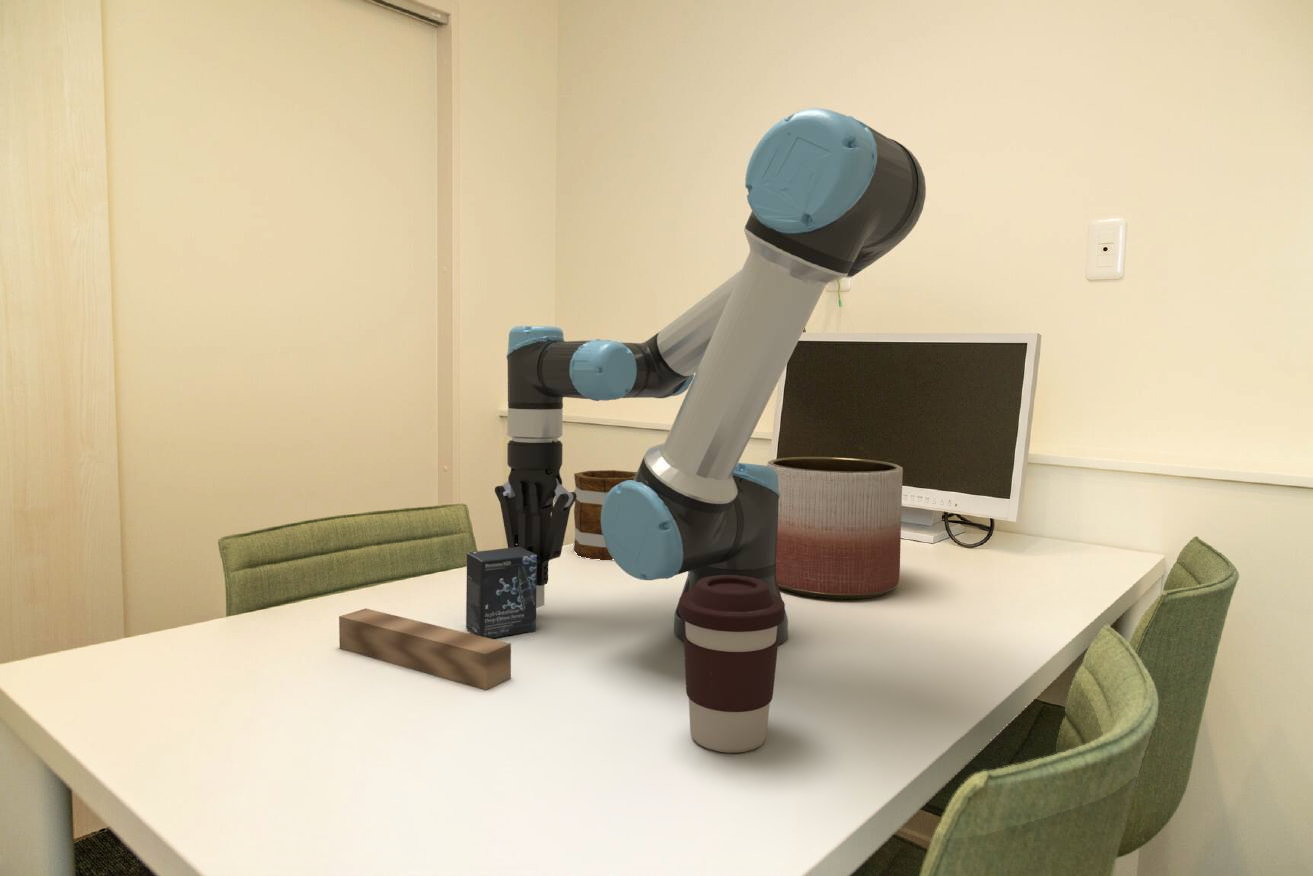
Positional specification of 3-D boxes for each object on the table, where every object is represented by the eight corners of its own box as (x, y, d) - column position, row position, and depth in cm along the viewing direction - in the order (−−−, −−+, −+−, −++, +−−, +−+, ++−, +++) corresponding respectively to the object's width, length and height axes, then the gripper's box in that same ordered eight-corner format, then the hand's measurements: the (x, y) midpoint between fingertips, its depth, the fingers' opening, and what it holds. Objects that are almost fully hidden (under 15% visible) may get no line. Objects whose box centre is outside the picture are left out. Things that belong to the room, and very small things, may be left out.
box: (481, 642, 102) (481, 560, 102) (465, 629, 107) (465, 551, 106) (537, 631, 107) (537, 553, 106) (520, 620, 111) (520, 545, 111)
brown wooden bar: (510, 678, 91) (510, 643, 90) (486, 690, 87) (486, 654, 87) (366, 639, 103) (365, 608, 102) (339, 648, 99) (339, 616, 99)
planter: (747, 592, 127) (750, 466, 126) (779, 562, 148) (782, 454, 146) (891, 610, 119) (897, 476, 117) (904, 576, 140) (909, 461, 138)
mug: (558, 550, 154) (559, 473, 153) (615, 542, 163) (616, 468, 162) (620, 571, 139) (622, 485, 138) (679, 560, 148) (681, 479, 147)
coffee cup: (671, 715, 81) (674, 570, 80) (767, 714, 82) (772, 569, 81) (682, 763, 72) (686, 598, 70) (792, 761, 72) (797, 597, 71)
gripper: (589, 440, 111) (587, 608, 113) (517, 434, 117) (516, 593, 119) (555, 444, 104) (553, 621, 106) (480, 438, 111) (480, 605, 113)
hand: (534, 606), depth 113 cm, fingers closed
